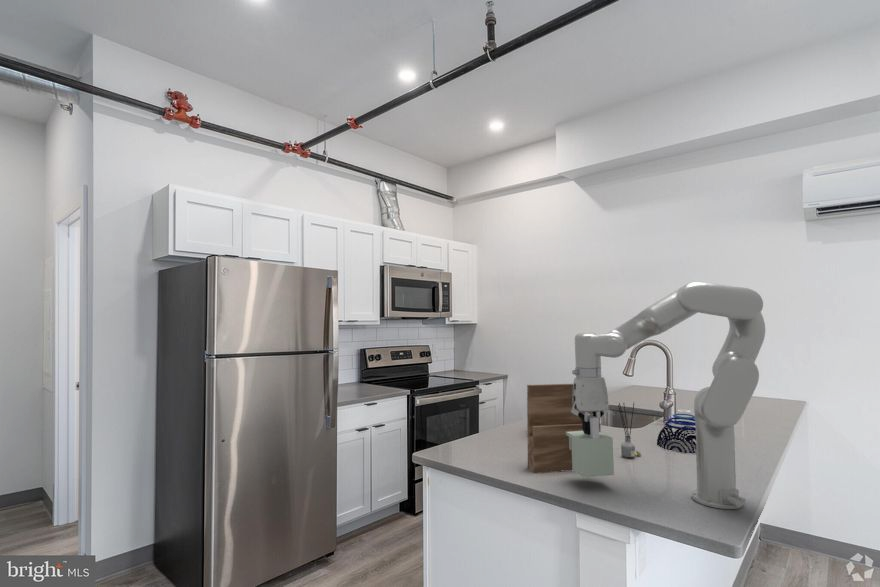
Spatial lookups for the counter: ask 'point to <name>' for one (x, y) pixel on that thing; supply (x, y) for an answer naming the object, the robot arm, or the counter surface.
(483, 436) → the counter surface
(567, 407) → the wooden board stand
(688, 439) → the decorative bowl
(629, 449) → the reed diffuser
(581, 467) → the pale green pegged cube
